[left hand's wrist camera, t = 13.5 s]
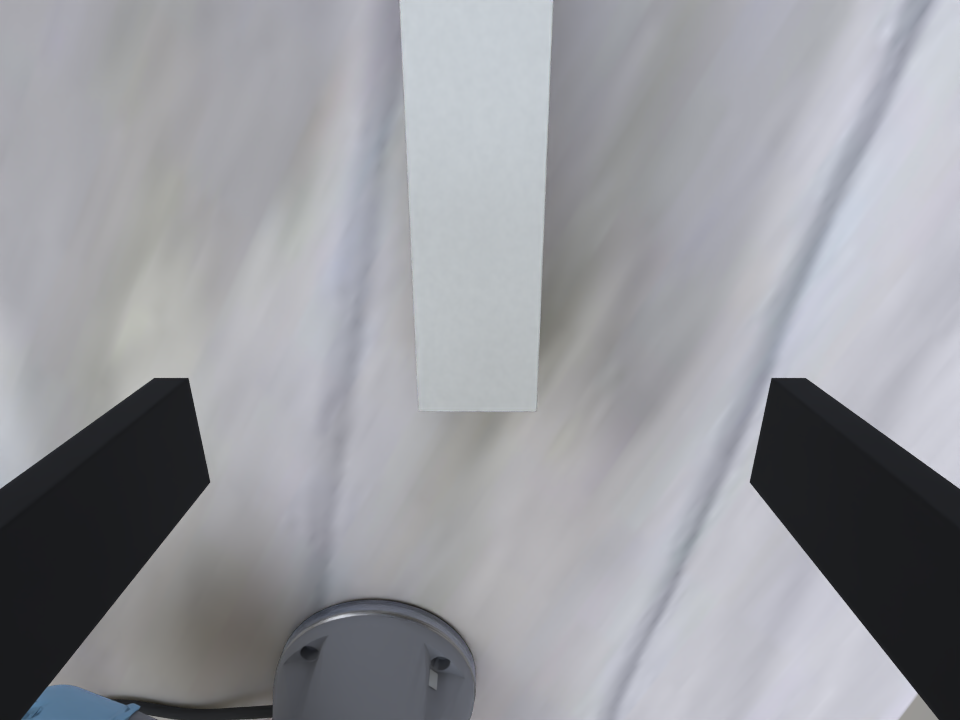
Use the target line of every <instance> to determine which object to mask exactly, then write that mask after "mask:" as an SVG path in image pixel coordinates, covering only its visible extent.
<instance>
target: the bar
mask: <svg viewBox="0 0 960 720" xmlns="http://www.w3.org/2000/svg"><path fill="white" fill-rule="evenodd" d="M553 1H554V0H399V7H400V29H401V50H402V71H403V93H404V114H405V136H406V157H407V179H408V200H409V222H410V243H411V265H412V286H413V308H414V329H415V351H416V372H417V394H418V411H419V412H536V411H537V391H538V366H539V342H540V318H541V293H542V269H543V245H544V220H545V196H546V171H547V147H548V123H549V98H550V74H551V50H552V25H553Z"/></svg>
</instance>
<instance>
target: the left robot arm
mask: <svg viewBox="0 0 960 720" xmlns="http://www.w3.org/2000/svg"><path fill="white" fill-rule="evenodd" d="M209 483H210V479H209V474H208V469H207V464H206V460H205V455H204V450H203V445H202V441H201V436H200V431H199V426H198V422H197V417H196V412H195V407H194V402H193V398H192V393H191V388H190V383H189V379H188V378H154V379H152V380H151V381H150V382H148V383H147V384H145V385H144V386H143V387H141V388H140V389H139V390H137V391H136V392H134V393H133V394H132V395H130V396H129V397H127V398H126V399H125V400H123V401H122V402H120V403H119V404H118V405H116V406H115V407H114V408H112V409H111V410H109V411H108V412H107V413H105V414H104V415H102V416H101V417H100V418H98V419H97V420H95V421H94V422H93V423H91V424H90V425H89V426H87V427H86V428H84V429H83V430H82V431H80V432H79V433H77V434H76V435H75V436H73V437H72V438H70V439H69V440H68V441H66V442H65V443H64V444H62V445H61V446H59V447H58V448H57V449H55V450H54V451H52V452H51V453H50V454H48V455H47V456H45V457H44V458H43V459H41V460H40V461H39V462H37V463H36V464H34V465H33V466H32V467H30V468H29V469H27V470H26V471H25V472H23V473H22V474H20V475H19V476H18V477H16V478H15V479H14V480H12V481H11V482H9V483H8V484H7V485H5V486H4V487H2V488H1V489H0V720H157V719H155V718H153V717H150V716H148V715H151V716H157V717H163V718H169V719H176V720H240V719H258V718H272V720H470V717H471V714H472V710H473V705H474V700H475V688H476V673H475V665H474V660H473V657H472V654H471V652H470V650H469V648H468V646H467V645H466V643H465V642H464V640H463V639H462V638H461V637H460V635H459V634H458V633H457V632H456V631H455V630H454V629H453V628H452V627H450V626H449V625H448V624H447V623H445V622H444V621H442V620H441V619H439V618H438V617H436V616H434V615H433V614H431V613H429V612H426V611H424V610H422V609H419V608H417V607H414V606H411V605H407V604H403V603H398V602H393V601H385V600H359V601H351V602H346V603H341V604H338V605H334V606H331V607H329V608H326V609H324V610H322V611H319V612H317V613H316V614H314V615H312V616H311V617H309V618H308V619H306V620H305V621H304V622H303V623H301V624H300V625H299V626H298V627H297V628H296V630H295V631H294V632H293V633H292V634H291V636H290V638H289V639H288V641H287V643H286V645H285V647H284V650H283V652H282V655H281V658H280V660H279V663H278V666H277V669H276V675H275V680H274V687H273V705H268V706H253V707H236V708H222V709H189V708H179V707H172V706H166V705H160V704H154V703H148V702H141V701H133V700H111V699H108V698H105V697H103V696H100V695H98V694H95V693H92V692H90V691H87V690H84V689H82V688H79V687H76V686H72V685H54V686H49V687H48V685H49V684H50V683H51V682H52V680H53V679H54V678H55V677H56V675H57V674H58V673H59V672H60V670H61V669H62V668H63V666H64V665H65V664H66V663H67V661H68V660H69V659H70V658H71V656H72V655H73V654H74V653H75V651H76V650H77V649H78V648H79V646H80V645H81V644H82V643H83V641H84V640H85V639H86V638H87V636H88V635H89V634H90V633H91V631H92V630H93V629H94V628H95V626H96V625H97V624H98V623H99V621H100V620H101V619H102V618H103V616H104V615H105V614H106V613H107V611H108V610H109V609H110V607H111V606H112V605H113V604H114V602H115V601H116V600H117V599H118V597H119V596H120V595H121V594H122V592H123V591H124V590H125V589H126V587H127V586H128V585H129V584H130V582H131V581H132V580H133V579H134V577H135V576H136V575H137V574H138V572H139V571H140V570H141V569H142V567H143V566H144V565H145V564H146V562H147V561H148V560H149V559H150V557H151V556H152V555H153V554H154V552H155V551H156V550H157V548H158V547H159V546H160V545H161V543H162V542H163V541H164V540H165V538H166V537H167V536H168V535H169V533H170V532H171V531H172V530H173V528H174V527H175V526H176V525H177V523H178V522H179V521H180V520H181V518H182V517H183V516H184V515H185V513H186V512H187V511H188V510H189V508H190V507H191V506H192V505H193V503H194V502H195V501H196V500H197V498H198V497H199V496H200V495H201V493H202V492H203V491H204V489H205V488H206V487H207V486H208V484H209ZM750 483H751V484H752V486H753V487H754V488H755V489H756V491H757V492H758V493H759V495H760V496H761V497H762V498H763V500H764V501H765V502H766V503H767V505H768V506H769V507H770V508H771V510H772V511H773V512H774V513H775V515H776V516H777V517H778V518H779V520H780V521H781V522H782V523H783V525H784V526H785V527H786V528H787V530H788V531H789V532H790V533H791V535H792V536H793V537H794V538H795V540H796V541H797V542H798V543H799V545H800V546H801V547H802V548H803V550H804V551H805V552H806V554H807V555H808V556H809V557H810V559H811V560H812V561H813V562H814V564H815V565H816V566H817V567H818V569H819V570H820V571H821V572H822V574H823V575H824V576H825V577H826V579H827V580H828V581H829V582H830V584H831V585H832V586H833V587H834V589H835V590H836V591H837V592H838V594H839V595H840V596H841V597H842V599H843V600H844V601H845V602H846V604H847V605H848V606H849V607H850V609H851V610H852V611H853V613H854V614H855V615H856V616H857V618H858V619H859V620H860V621H861V623H862V624H863V625H864V626H865V628H866V629H867V630H868V631H869V633H870V634H871V635H872V636H873V638H874V639H875V640H876V641H877V643H878V644H879V645H880V646H881V648H882V649H883V650H884V651H885V653H886V654H887V655H888V656H889V658H890V659H891V660H892V661H893V663H894V664H895V665H896V666H897V668H898V669H899V670H900V672H901V673H902V674H903V675H904V677H905V678H906V679H907V680H908V682H909V683H910V684H911V685H912V687H913V688H914V689H915V690H916V692H917V693H918V694H919V695H920V697H921V698H922V699H923V700H924V702H925V703H926V704H927V705H928V707H929V708H930V709H931V710H932V712H933V713H934V714H935V715H936V717H937V718H938V719H939V720H960V489H959V488H958V487H956V486H955V485H953V484H952V483H951V482H949V481H948V480H946V479H945V478H944V477H942V476H941V475H940V474H938V473H937V472H935V471H934V470H933V469H931V468H930V467H928V466H927V465H926V464H924V463H923V462H921V461H920V460H919V459H917V458H916V457H915V456H913V455H912V454H910V453H909V452H908V451H906V450H905V449H903V448H902V447H901V446H899V445H898V444H896V443H895V442H894V441H892V440H891V439H890V438H888V437H887V436H885V435H884V434H883V433H881V432H880V431H878V430H877V429H876V428H874V427H873V426H871V425H870V424H869V423H867V422H866V421H865V420H863V419H862V418H860V417H859V416H858V415H856V414H855V413H853V412H852V411H851V410H849V409H848V408H846V407H845V406H844V405H842V404H841V403H840V402H838V401H837V400H835V399H834V398H833V397H831V396H830V395H828V394H827V393H826V392H824V391H823V390H821V389H820V388H819V387H817V386H816V385H815V384H813V383H812V382H810V381H809V380H808V379H806V378H772V379H771V383H770V388H769V393H768V398H767V402H766V407H765V412H764V417H763V422H762V426H761V431H760V436H759V441H758V445H757V450H756V455H755V460H754V464H753V469H752V474H751V479H750Z"/></svg>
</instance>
